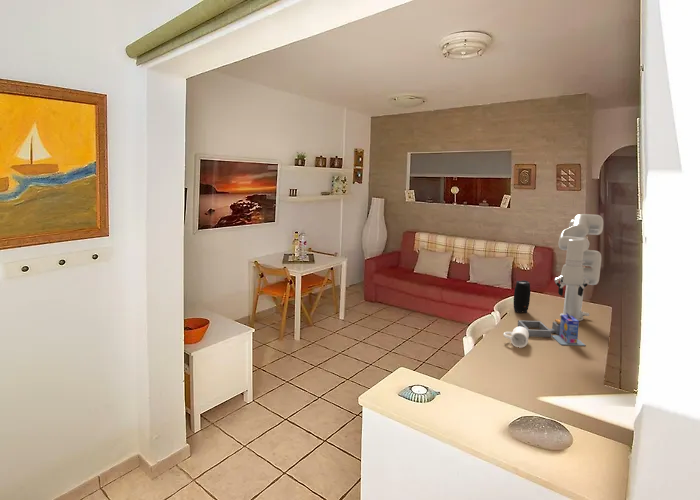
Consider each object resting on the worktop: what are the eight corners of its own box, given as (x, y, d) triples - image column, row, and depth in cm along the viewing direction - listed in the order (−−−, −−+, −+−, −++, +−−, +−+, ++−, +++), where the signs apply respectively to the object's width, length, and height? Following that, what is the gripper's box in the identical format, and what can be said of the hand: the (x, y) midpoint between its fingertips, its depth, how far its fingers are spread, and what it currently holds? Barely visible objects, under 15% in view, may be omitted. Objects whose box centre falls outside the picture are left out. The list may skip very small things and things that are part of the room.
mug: (528, 342, 214) (529, 327, 212) (527, 349, 205) (528, 334, 203) (503, 338, 219) (504, 323, 217) (501, 344, 210) (502, 329, 209)
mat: (574, 336, 221) (574, 336, 221) (585, 345, 210) (585, 345, 210) (551, 336, 222) (551, 335, 222) (561, 345, 210) (561, 344, 210)
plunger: (562, 329, 230) (563, 319, 229) (565, 332, 225) (566, 322, 224) (554, 329, 230) (555, 319, 229) (557, 332, 226) (558, 322, 224)
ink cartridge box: (558, 336, 221) (561, 310, 219) (569, 336, 221) (571, 310, 218) (566, 343, 211) (569, 316, 209) (577, 343, 211) (580, 316, 208)
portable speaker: (529, 314, 257) (532, 284, 254) (513, 312, 260) (516, 282, 256) (527, 310, 266) (530, 280, 262) (511, 308, 268) (514, 279, 264)
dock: (559, 327, 235) (560, 319, 234) (571, 338, 220) (572, 329, 219) (517, 326, 236) (518, 317, 236) (527, 336, 221) (528, 327, 220)
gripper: (587, 261, 215) (583, 293, 218) (553, 261, 216) (550, 292, 219) (594, 265, 207) (591, 297, 211) (559, 264, 208) (556, 296, 212)
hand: (570, 295), depth 215 cm, fingers open, 9 cm apart
